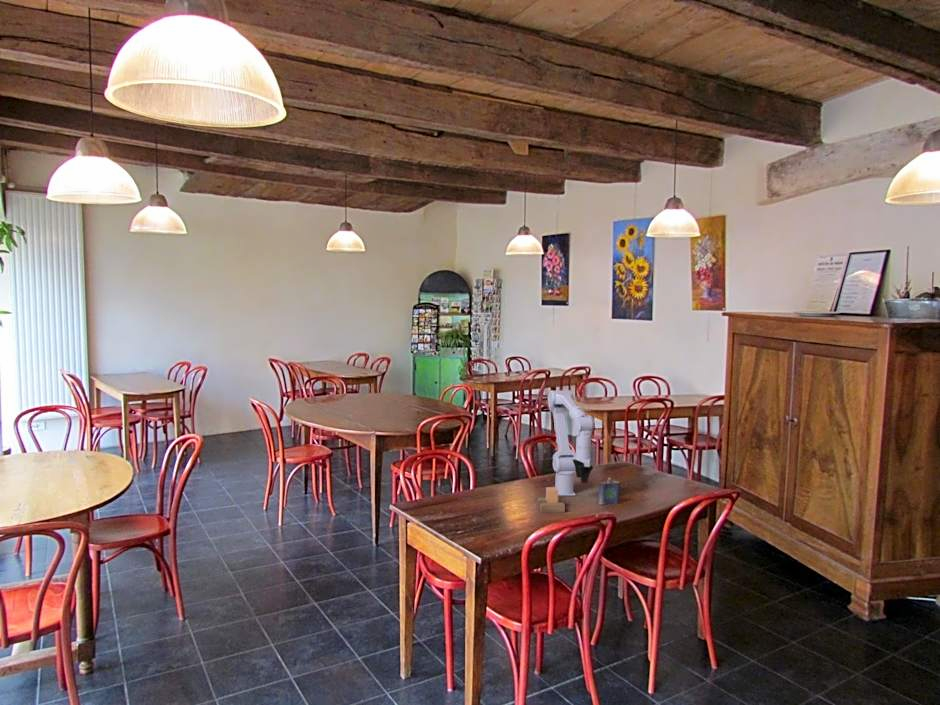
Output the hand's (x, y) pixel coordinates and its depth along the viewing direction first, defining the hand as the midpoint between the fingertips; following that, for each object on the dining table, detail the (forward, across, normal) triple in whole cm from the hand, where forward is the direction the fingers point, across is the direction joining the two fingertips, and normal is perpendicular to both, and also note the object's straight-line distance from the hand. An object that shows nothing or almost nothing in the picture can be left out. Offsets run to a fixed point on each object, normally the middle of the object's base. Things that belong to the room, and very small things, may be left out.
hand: (581, 479), depth 258 cm
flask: (+11, -2, +12) cm, 16 cm away
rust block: (+7, +4, -13) cm, 15 cm away
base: (+10, +4, -13) cm, 17 cm away
